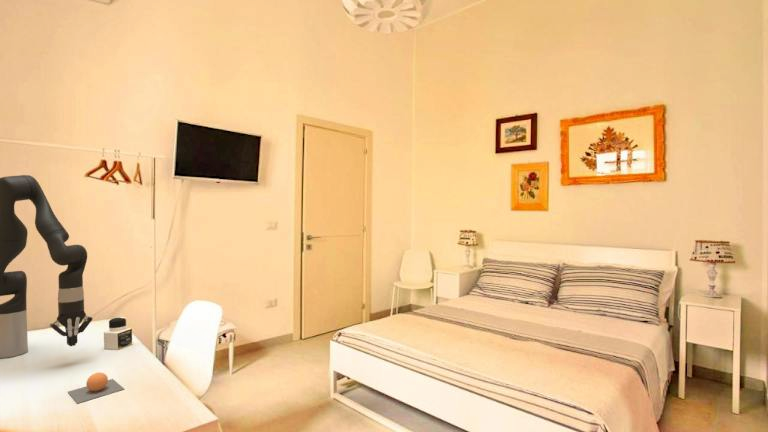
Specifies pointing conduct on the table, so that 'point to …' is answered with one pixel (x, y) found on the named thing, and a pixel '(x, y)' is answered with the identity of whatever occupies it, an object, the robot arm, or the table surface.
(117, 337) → the medicine bottle
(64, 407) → the table surface
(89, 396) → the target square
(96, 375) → the ball
